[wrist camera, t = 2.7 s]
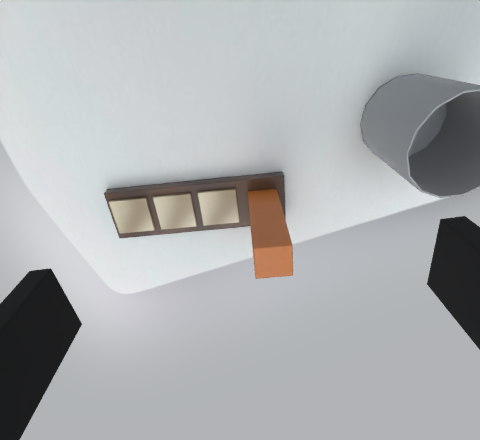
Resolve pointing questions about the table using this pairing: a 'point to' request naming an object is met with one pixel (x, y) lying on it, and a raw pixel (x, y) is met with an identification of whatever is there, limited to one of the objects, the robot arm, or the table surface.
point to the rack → (188, 204)
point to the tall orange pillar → (269, 235)
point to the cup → (427, 132)
